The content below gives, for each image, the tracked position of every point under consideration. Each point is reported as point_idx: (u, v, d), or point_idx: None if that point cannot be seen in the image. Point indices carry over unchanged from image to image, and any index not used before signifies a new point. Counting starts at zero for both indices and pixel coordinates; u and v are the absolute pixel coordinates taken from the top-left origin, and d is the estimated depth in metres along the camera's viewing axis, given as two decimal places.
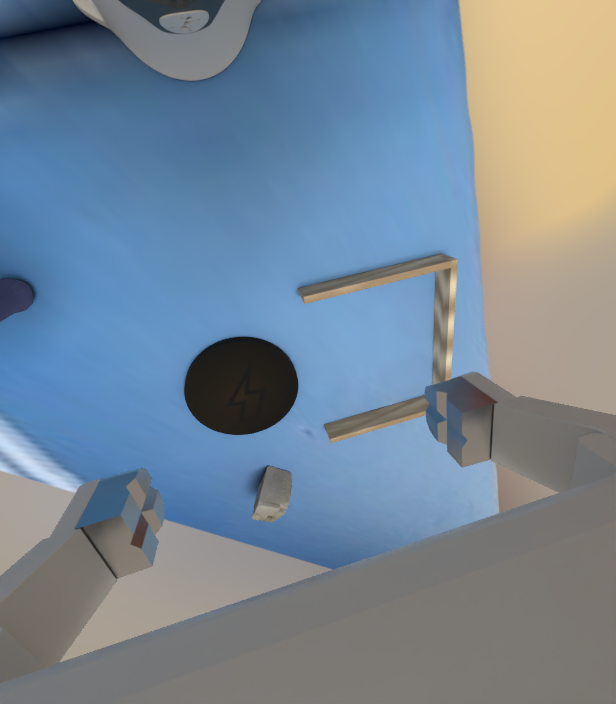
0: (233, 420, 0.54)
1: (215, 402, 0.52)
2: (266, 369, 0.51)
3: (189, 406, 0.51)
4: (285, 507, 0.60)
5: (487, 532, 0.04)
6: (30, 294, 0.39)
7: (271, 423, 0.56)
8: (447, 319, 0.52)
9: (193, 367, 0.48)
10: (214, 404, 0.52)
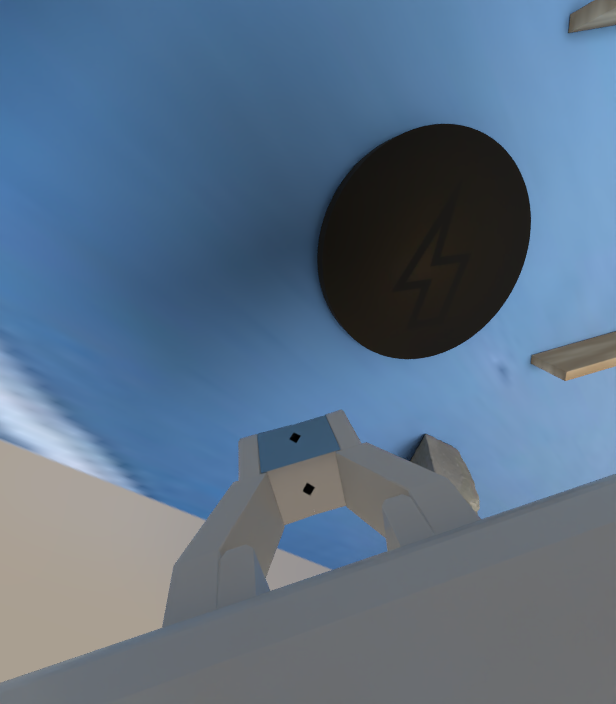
0: (399, 325, 0.28)
1: (376, 278, 0.26)
2: (482, 205, 0.25)
3: (326, 281, 0.25)
4: (476, 508, 0.31)
5: (487, 532, 0.04)
6: None
7: (461, 338, 0.30)
8: None
9: (351, 181, 0.23)
10: (374, 283, 0.26)
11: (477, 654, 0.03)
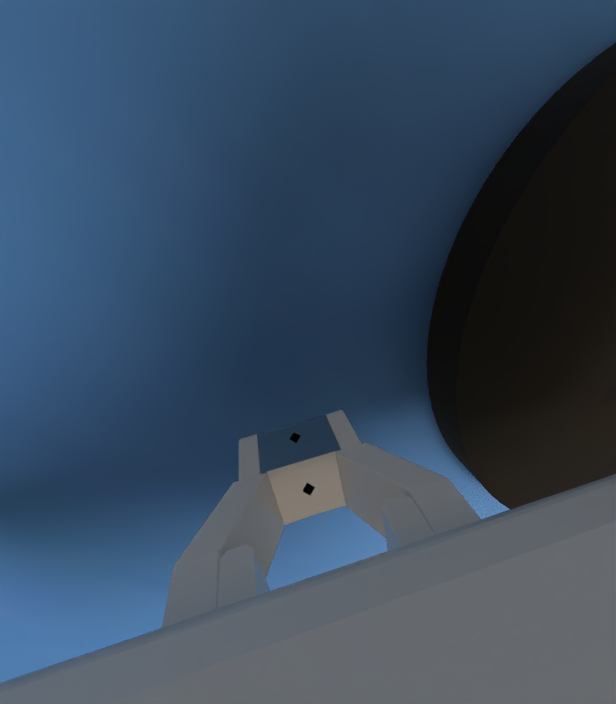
0: (594, 465, 0.13)
1: (573, 377, 0.11)
2: None
3: (463, 392, 0.10)
4: None
5: (487, 532, 0.04)
6: None
7: None
8: None
9: (577, 126, 0.08)
10: (566, 390, 0.11)
11: (477, 654, 0.03)
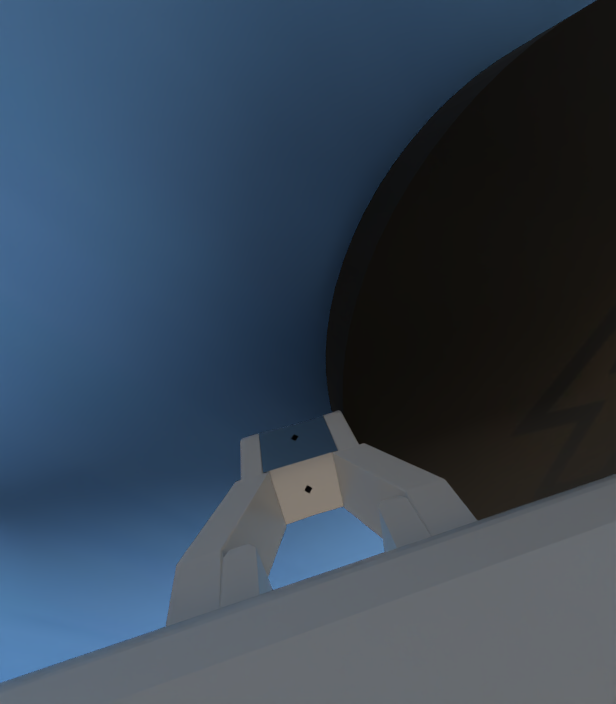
0: (517, 497, 0.12)
1: (478, 411, 0.10)
2: None
3: (353, 431, 0.09)
4: None
5: (487, 532, 0.04)
6: None
7: None
8: None
9: (438, 156, 0.07)
10: (471, 424, 0.10)
11: (477, 654, 0.03)
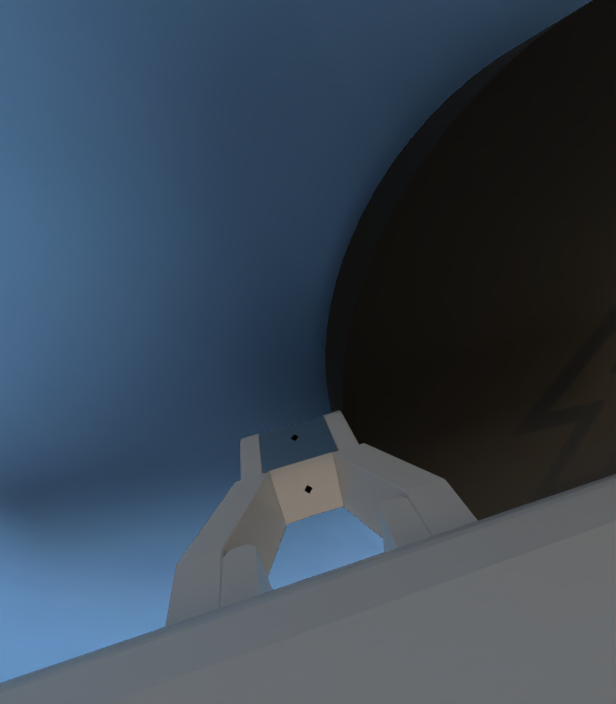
0: (518, 496, 0.12)
1: (478, 411, 0.10)
2: None
3: (354, 431, 0.09)
4: None
5: (487, 532, 0.04)
6: None
7: None
8: None
9: (437, 155, 0.07)
10: (472, 424, 0.10)
11: (477, 654, 0.03)
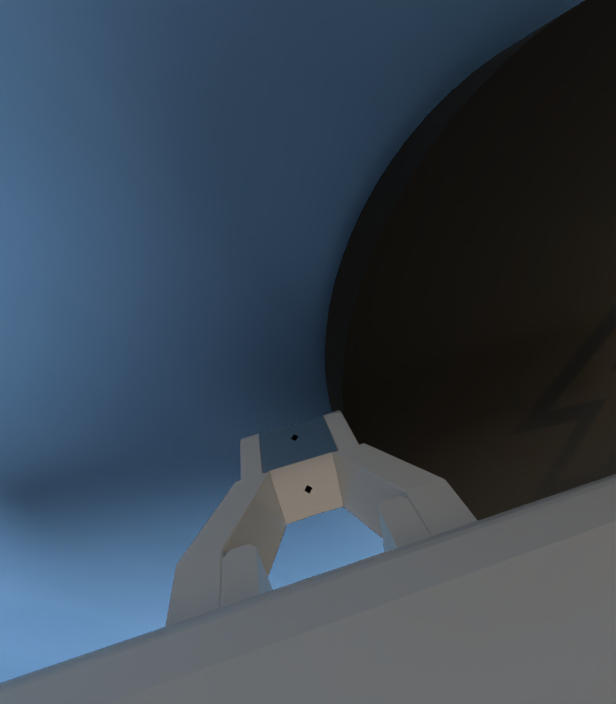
0: (518, 495, 0.12)
1: (479, 409, 0.10)
2: None
3: (354, 428, 0.09)
4: None
5: (487, 532, 0.04)
6: None
7: None
8: None
9: (439, 150, 0.07)
10: (473, 422, 0.10)
11: (477, 654, 0.03)
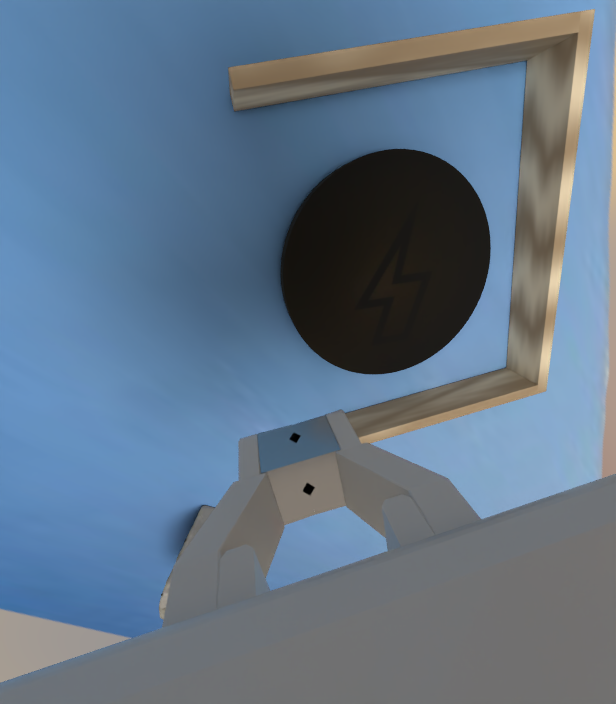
0: (364, 341, 0.28)
1: (337, 296, 0.26)
2: (440, 225, 0.26)
3: (288, 300, 0.26)
4: None
5: (487, 532, 0.04)
6: None
7: (427, 353, 0.30)
8: (558, 181, 0.24)
9: (307, 205, 0.23)
10: (336, 302, 0.27)
11: (477, 654, 0.03)
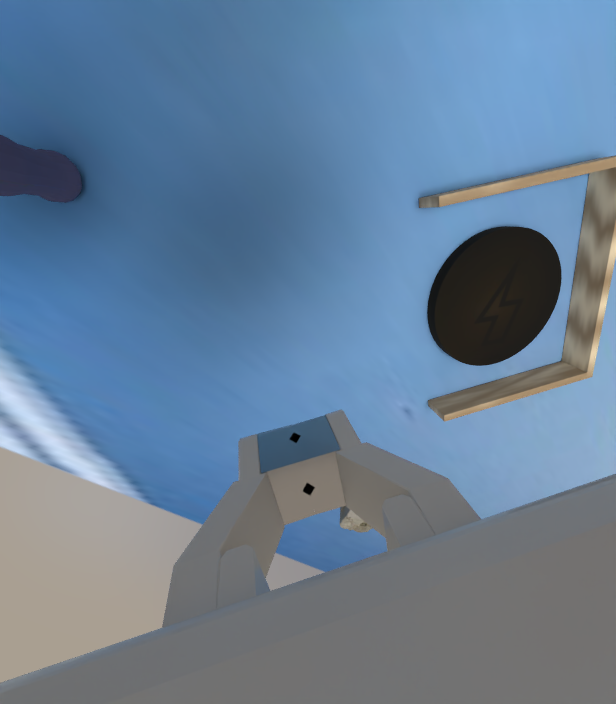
0: (476, 344, 0.43)
1: (465, 315, 0.41)
2: (532, 270, 0.41)
3: (436, 318, 0.41)
4: None
5: (487, 532, 0.04)
6: (78, 177, 0.28)
7: (514, 351, 0.45)
8: (609, 244, 0.39)
9: (456, 261, 0.38)
10: (463, 319, 0.41)
11: (477, 654, 0.03)
